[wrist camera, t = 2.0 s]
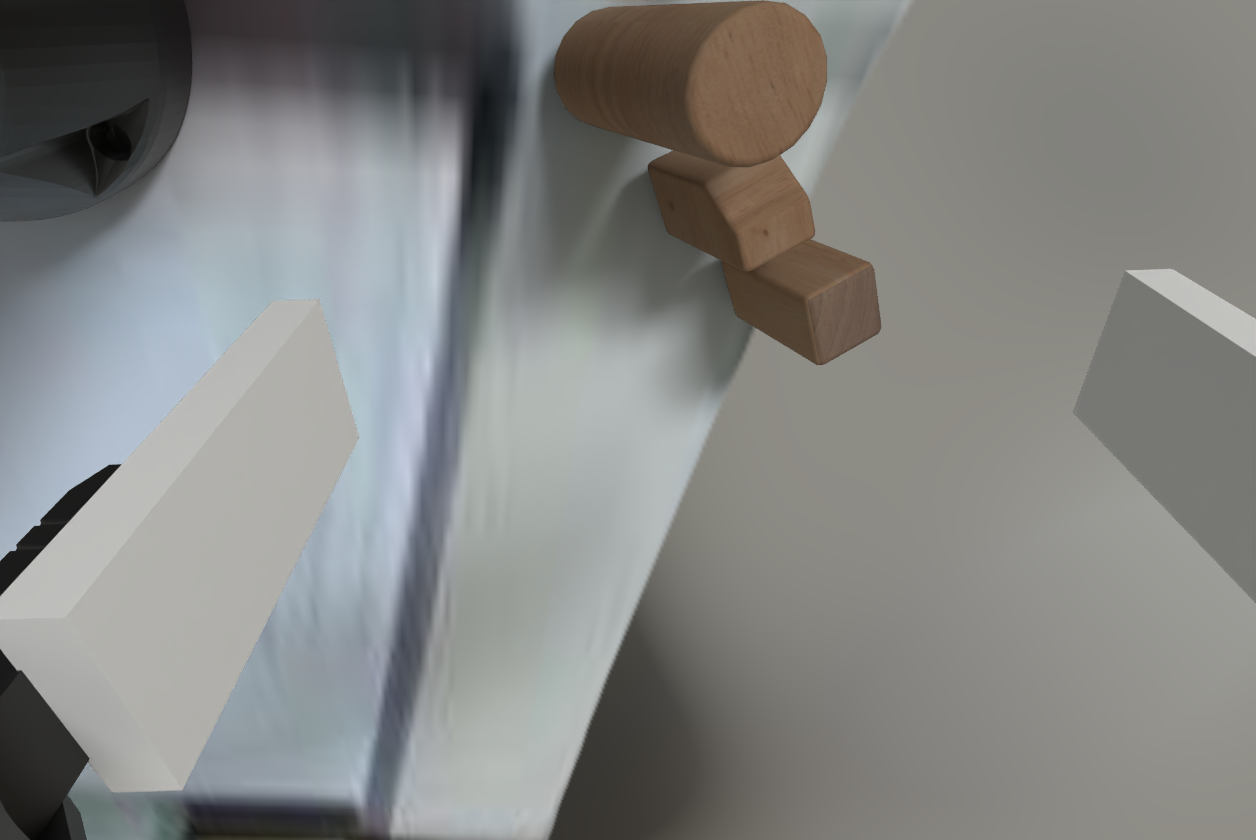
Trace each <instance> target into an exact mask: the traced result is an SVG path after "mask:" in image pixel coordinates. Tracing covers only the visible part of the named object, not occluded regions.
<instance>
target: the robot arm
mask: <svg viewBox="0 0 1256 840" xmlns="http://www.w3.org/2000/svg"><path fill="white" fill-rule="evenodd" d="M191 75H192V49H191V37H190V30H189V23H188V17H187V12H186V8H185V3H184V0H0V222H8V221H31V220H42V219H48V218H54V217H58V216H62V215H66V214H70V213H74V212H77V211H80V210H83V209H86V208H88V207H90V206H92V205H95V204H97V203H99V202H101V201H103V200H105V199H106V198H108V197H110V196H112V195H114V194H116V193H118V192H120V191H122V190H123V189H125V188H127V187H129V186H130V185H132V184H134V183H135V182H137V181H138V180H140V179H141V178H142V177H144V176H145V175H146V174H147V173H148V172H149V171H150V170H152V169H153V168H154V167H155V166H156V164H157V163H158V162H159V161H160V160H161V159H162V158H163V156H164V155H165V153H166V152H167V151H168V149H169V148H170V146H171V144H172V143H173V141H174V139H175V137H176V135H177V133H178V131H179V129H180V126H181V124H182V121H183V118H184V115H185V112H186V108H187V104H188V99H189V93H190V86H191ZM1073 413H1074V414H1075V415H1076V416H1077V417H1078V418H1079V420H1081V422H1082V423H1083V424H1084V425H1085V426H1086V427H1087V428H1088V429H1089V430H1090V431H1091V432H1092V433H1093V434H1094V435H1095V436H1096V437H1097V438H1098V439H1099V440H1100V441H1101V442H1102V443H1103V445H1104V446H1105V447H1106V448H1108V450H1109V451H1110V452H1111V453H1112V454H1113V455H1114V456H1115V457H1116V458H1117V459H1118V460H1119V461H1120V462H1121V463H1122V464H1123V465H1124V466H1125V467H1126V468H1127V470H1128V471H1129V472H1130V473H1131V474H1132V475H1133V476H1134V477H1135V478H1136V479H1137V480H1138V481H1139V482H1140V483H1141V484H1142V485H1143V486H1144V487H1145V488H1146V489H1147V490H1148V491H1149V492H1150V493H1151V494H1152V495H1153V497H1154V498H1155V499H1156V500H1157V501H1158V502H1159V503H1160V504H1161V505H1162V506H1163V507H1164V508H1165V509H1166V510H1167V511H1168V512H1169V513H1170V514H1171V515H1172V516H1173V517H1174V518H1175V519H1176V521H1177V522H1178V523H1179V524H1180V525H1181V526H1182V527H1183V528H1184V529H1185V530H1186V531H1187V532H1188V533H1189V534H1190V535H1191V536H1192V537H1193V538H1194V539H1195V540H1196V541H1197V542H1198V543H1199V545H1200V546H1201V547H1202V548H1203V549H1204V550H1205V551H1206V552H1207V553H1208V554H1209V555H1210V556H1211V557H1212V558H1213V559H1214V560H1215V561H1216V562H1217V563H1218V564H1219V565H1220V566H1221V567H1222V568H1223V569H1224V571H1225V572H1226V573H1227V574H1228V575H1229V576H1230V577H1231V578H1232V579H1233V580H1234V581H1235V582H1236V583H1237V584H1238V585H1239V586H1240V587H1241V588H1242V589H1243V590H1244V591H1245V592H1246V593H1247V594H1248V596H1249V597H1251V599H1252V600H1253V601H1254V602H1255V603H1256V319H1255V318H1253V317H1251V316H1250V315H1248V314H1246V313H1244V312H1243V311H1241V310H1240V309H1238V308H1236V307H1235V306H1233V305H1231V304H1230V303H1228V302H1226V301H1225V300H1223V299H1221V298H1220V297H1218V296H1216V295H1215V294H1213V293H1211V292H1210V291H1208V290H1206V289H1205V288H1203V287H1201V286H1200V285H1198V284H1196V283H1195V282H1193V281H1191V280H1190V279H1188V278H1186V277H1184V276H1183V275H1181V274H1179V273H1178V272H1176V271H1175V270H1173V269H1159V270H1131V271H1125V272H1124V275H1123V278H1122V280H1121V283H1120V286H1119V289H1118V291H1117V294H1116V297H1115V299H1114V302H1113V305H1112V307H1111V310H1110V313H1109V315H1108V318H1107V321H1106V324H1105V326H1104V329H1103V332H1102V335H1101V337H1100V340H1099V343H1098V346H1097V348H1096V351H1095V353H1094V356H1093V359H1092V361H1091V364H1090V367H1089V370H1088V372H1087V375H1086V378H1085V381H1084V383H1083V386H1082V389H1081V391H1080V394H1079V397H1078V399H1077V402H1076V405H1075V408H1074V410H1073ZM358 439H359V435H358V432H357V428H356V425H355V421H354V418H353V414H352V411H351V407H350V404H349V400H348V397H347V393H346V390H345V386H344V383H343V379H342V376H341V373H340V369H339V366H338V362H337V359H336V355H335V352H334V348H333V345H332V341H331V338H330V334H329V331H328V327H327V324H326V320H325V317H324V314H323V310H322V307H321V303H320V300H319V299H315V300H287V301H272V302H271V303H270V304H269V305H268V306H267V308H266V309H265V310H264V311H263V312H262V313H261V314H260V315H259V316H258V317H257V318H256V319H255V321H254V322H253V323H252V324H251V325H250V326H249V327H248V328H247V329H246V330H245V331H244V332H243V334H242V335H241V336H240V337H239V338H238V339H237V340H236V341H235V342H234V343H233V344H232V345H231V347H230V348H229V349H228V350H227V351H226V352H225V353H224V354H223V355H222V356H221V357H220V358H219V360H218V361H217V362H216V363H215V364H214V365H213V366H212V367H211V368H210V369H209V370H208V372H207V373H206V374H205V375H204V376H203V377H202V378H201V379H200V380H199V381H198V382H197V383H196V385H195V386H194V387H193V388H192V389H191V390H190V391H189V392H188V393H187V394H186V395H185V396H184V398H183V399H182V400H181V401H180V402H179V403H178V404H177V405H176V406H175V407H174V408H173V409H172V411H171V412H170V413H169V414H168V415H167V416H166V417H165V418H164V419H163V420H162V421H161V422H160V424H159V425H158V426H157V427H156V428H155V429H154V430H153V431H152V432H151V433H150V434H149V435H148V437H147V438H146V439H145V440H144V441H143V442H142V443H141V444H140V445H139V446H138V447H137V449H136V450H135V451H134V452H133V453H132V454H131V455H130V456H129V457H128V458H127V459H126V460H125V462H124V463H123V464H118V465H108V466H107V467H105V468H104V469H102V470H100V471H99V472H97V473H96V474H94V475H93V476H91V477H89V478H88V479H86V480H85V481H83V482H82V483H80V484H79V485H77V486H75V487H74V488H72V489H71V490H69V491H68V492H67V493H66V494H65V495H64V496H63V497H62V498H61V499H60V500H59V501H58V502H57V503H56V504H55V506H54V507H53V508H52V509H51V510H50V511H49V512H48V513H47V514H46V515H45V516H44V517H43V518H42V519H41V520H40V521H41V525H40V526H34V527H33V528H32V529H31V530H30V531H29V532H28V533H27V534H26V535H25V536H24V537H23V538H22V539H21V540H20V541H19V542H18V544H17V545H16V546H17V549H16V551H10V552H9V553H8V554H7V555H6V556H5V557H4V558H3V559H2V560H1V561H0V840H87V839H86V835H85V831H84V826H83V822H82V818H81V814H80V812H79V810H78V809H77V807H76V806H75V804H74V803H73V802H72V800H71V799H70V798H69V796H68V795H67V794H68V792H69V791H70V789H71V788H72V786H73V784H74V783H75V781H76V780H77V778H78V777H79V775H80V773H81V772H82V770H83V769H84V767H85V766H86V764H87V762H89V764H90V765H91V766H92V768H93V769H94V770H95V772H96V773H97V774H98V775H99V777H100V778H101V779H102V781H103V782H104V783H105V784H106V786H107V787H108V788H109V790H110V791H111V792H112V793H118V792H148V791H177V790H183V788H184V786H185V784H186V782H187V780H188V778H189V776H190V774H191V772H192V770H193V768H194V766H195V764H196V762H197V760H198V758H199V756H200V754H201V752H202V750H203V748H204V746H205V744H206V742H207V740H208V738H209V736H210V734H211V732H212V730H213V728H214V726H215V724H216V722H217V720H218V718H219V716H220V714H221V712H222V710H223V709H224V707H225V705H226V703H227V701H228V699H229V697H230V695H231V693H232V691H233V689H234V687H235V685H236V683H237V681H238V679H239V677H240V675H241V673H242V671H243V669H244V667H245V665H246V663H247V661H248V659H249V657H250V655H251V653H252V651H253V649H254V647H255V645H256V643H257V641H258V639H259V637H260V635H261V633H262V631H263V629H264V627H265V625H266V623H267V621H268V619H269V617H270V615H271V613H272V611H273V609H274V607H275V605H276V603H277V601H278V599H279V597H280V595H281V593H282V591H283V589H284V587H285V585H286V583H287V581H288V579H289V577H290V575H291V573H292V571H293V569H294V567H295V565H296V563H297V561H298V559H299V557H300V555H301V553H302V551H303V549H304V547H305V545H306V543H307V541H308V539H309V537H310V535H311V533H312V531H313V529H314V527H315V525H316V523H317V521H318V519H319V517H320V515H321V513H322V511H323V509H324V507H325V505H326V503H327V501H328V499H329V497H330V495H331V493H332V491H333V489H334V487H335V485H336V483H337V481H338V479H339V477H340V475H341V473H342V471H343V469H344V467H345V465H346V463H347V461H348V459H349V457H350V455H351V453H352V451H353V449H354V447H355V445H356V443H357V441H358Z"/></svg>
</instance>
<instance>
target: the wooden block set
mask: <svg viewBox="0 0 1256 840" xmlns="http://www.w3.org/2000/svg"><path fill="white" fill-rule="evenodd" d="M554 78H555V83H556V89H557V93H558V95H559V97H560V99H561V100H562V102H563V104H564V106H565V108H566V109H567V110H568V111H569V112H571V113H572V114H573V115H574V116H575V117H576V118H577V119H578V120H581V121H583V122H585V123H588V124H590V125H593V126H596V127H599V128H602V129H606V130H609V131H612V132H616V133H619V134H622V135H625V136H629V137H632V138H635V139H638V140H642V141H645V142H648V143H652V144H655V145H658V146H661V147H665V148H668V149H671V150H673V151H671V152H669V153H667V154H665V155H663V156H661V157H659V158H657V159H655V160H653V161H651V162H650V163H649V164H648V170H649V174H650V177H651V180H652V184H653V187H654V190H655V194H656V197H657V200H658V204H659V207H660V210H661V214H662V217H663V220H664V224H665V227H666V230H667V232H668V233H669V234H671V235H673V236H675V237H677V238H679V239H681V240H683V241H685V242H687V243H688V244H690V245H692V246H694V247H696V248H698V249H700V250H702V251H704V252H706V253H708V254H710V255H712V256H714V257H716V258H718V259H720V260H721V262H722V266H723V270H724V274H725V278H726V281H727V285H728V289H729V293H730V297H731V301H732V304H733V308H734V312H735V314H736V315H737V316H738V317H739V318H741V319H742V320H744V321H746V322H747V323H749V324H750V325H752V326H754V327H755V328H757V329H759V330H760V331H762V332H764V333H765V334H767V335H769V336H770V337H772V338H773V339H775V340H777V341H778V342H780V343H782V344H783V345H785V346H787V347H789V348H790V349H792V350H793V351H795V352H797V353H798V354H800V355H802V356H803V357H805V358H806V359H808V360H810V361H811V362H813V363H815V364H816V365H823V364H826V363H828V362H829V361H831V360H833V359H835V358H836V357H838V356H840V355H841V354H843V353H845V352H847V351H848V350H850V349H852V348H854V347H856V346H857V345H859V344H861V343H863V342H864V341H866V340H868V339H869V338H871V337H873V336H875V335H877V334H878V333H879V332H880V329H881V320H880V312H879V304H878V296H877V289H876V280H875V272H874V268H873V266H872V265H871V264H870V263H869V262H867V261H864V260H862V259H859V258H857V257H854V256H852V255H849V254H847V253H844V252H841V251H839V250H836V249H834V248H831V247H829V246H826V245H824V244H821V243H818V242H816V241H813V240H811V239H812V238H813V237H814V235H815V228H814V223H813V217H812V211H811V205H810V201H809V198H808V196H807V194H806V193H805V191H804V190H803V188H802V187H801V185H800V184H799V182H798V181H797V179H796V178H795V177H794V175H793V174H792V172H791V171H790V169H789V168H788V166H787V165H786V163H785V162H784V160H783V159H782V157H781V156H780V155H781V154H782V153H783V152H785V151H786V150H788V149H789V148H791V147H792V146H794V144H795V143H796V142H797V141H798V140H799V139H800V138H801V136H802V135H803V134H804V133H805V132H806V131H807V129H808V128H809V127H810V125H811V123H812V121H813V119H814V118H815V116H816V114H817V112H818V110H819V108H820V106H821V103H822V99H823V95H824V91H825V87H826V83H827V56H826V52H825V49H824V46H823V42H822V39H821V35H820V34H819V33H818V31H817V30H816V29H815V27H814V26H813V24H812V23H811V22H810V20H809V19H808V18H807V17H806V16H805V15H804V14H803V13H801V12H799V11H798V10H796V9H794V8H793V7H791V6H789V5H788V4H786V3H779V2H771V1H741V2H718V3H694V4H670V5H647V6H623V7H608V8H604V9H599V10H595V11H592V12H590V13H589V14H587V15H585V16H584V17H582V18H581V19H579V20H578V21H576V22H575V23H574V25H573V26H572V27H571V28H570V29H569V31H568V32H567V33H566V34H565V36H564V37H563V39H562V42H561V44H560V46H559V49H558V51H557V54H556V59H555V68H554Z"/></svg>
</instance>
